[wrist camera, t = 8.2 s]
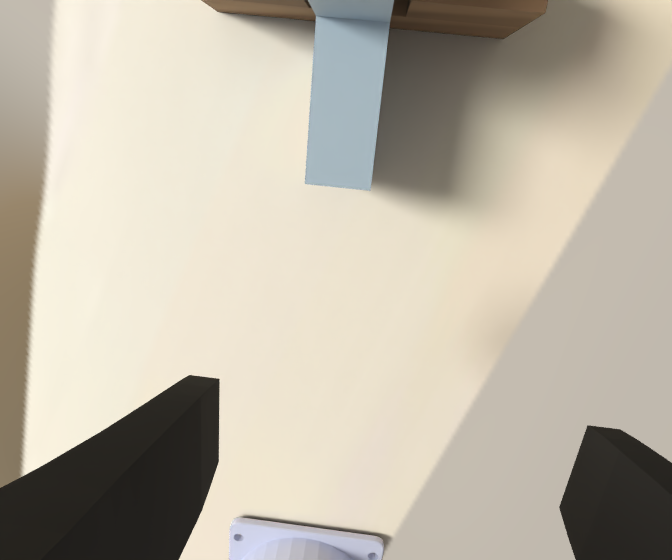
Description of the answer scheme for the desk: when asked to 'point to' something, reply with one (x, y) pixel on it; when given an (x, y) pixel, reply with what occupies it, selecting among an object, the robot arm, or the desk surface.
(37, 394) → the desk surface
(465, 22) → the brown notched wooden bar
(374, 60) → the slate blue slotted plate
